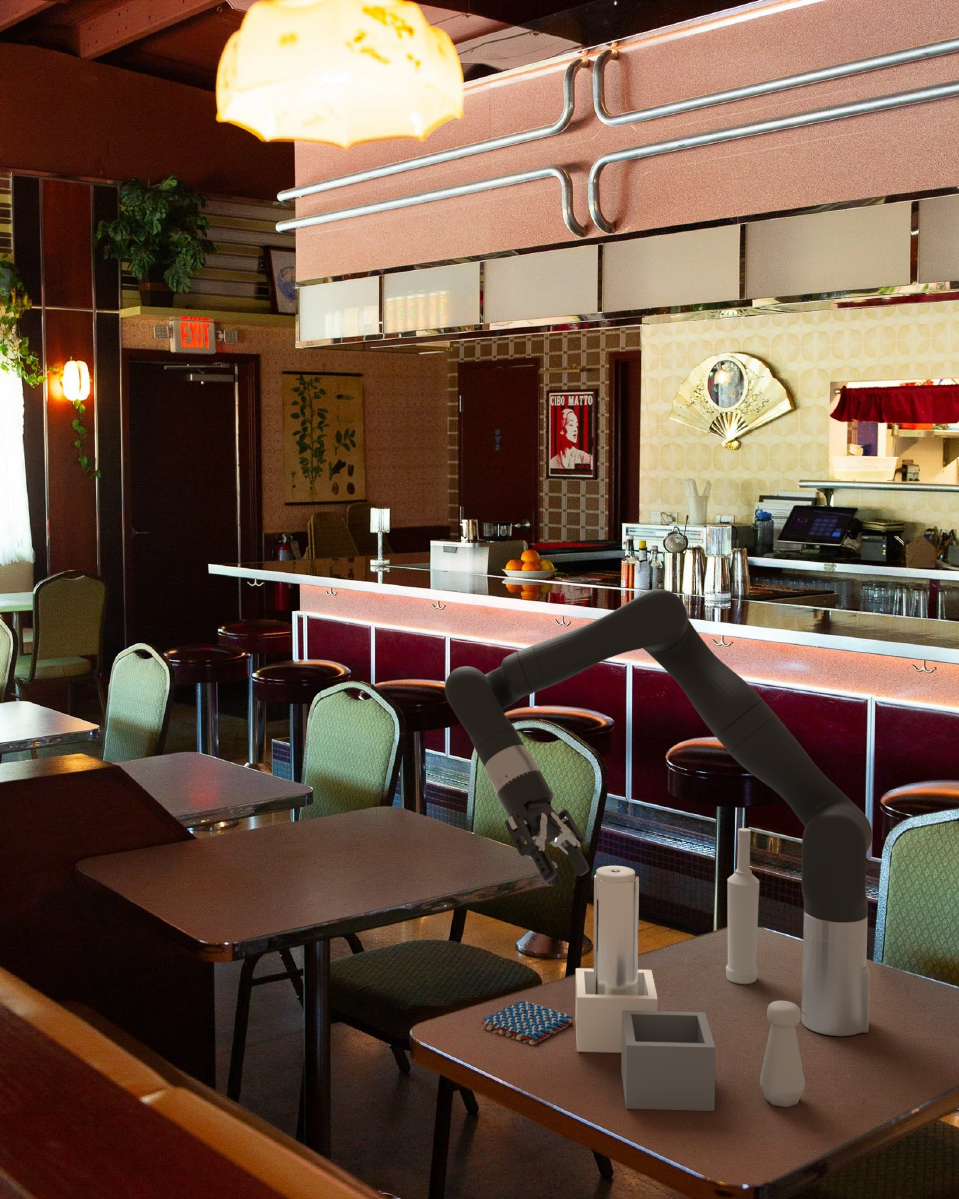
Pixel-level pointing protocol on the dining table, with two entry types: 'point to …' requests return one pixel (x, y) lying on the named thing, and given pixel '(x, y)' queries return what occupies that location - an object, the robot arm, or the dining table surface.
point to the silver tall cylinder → (615, 931)
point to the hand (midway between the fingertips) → (568, 875)
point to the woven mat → (527, 1022)
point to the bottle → (742, 916)
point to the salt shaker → (782, 1056)
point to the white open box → (607, 1011)
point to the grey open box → (667, 1061)
